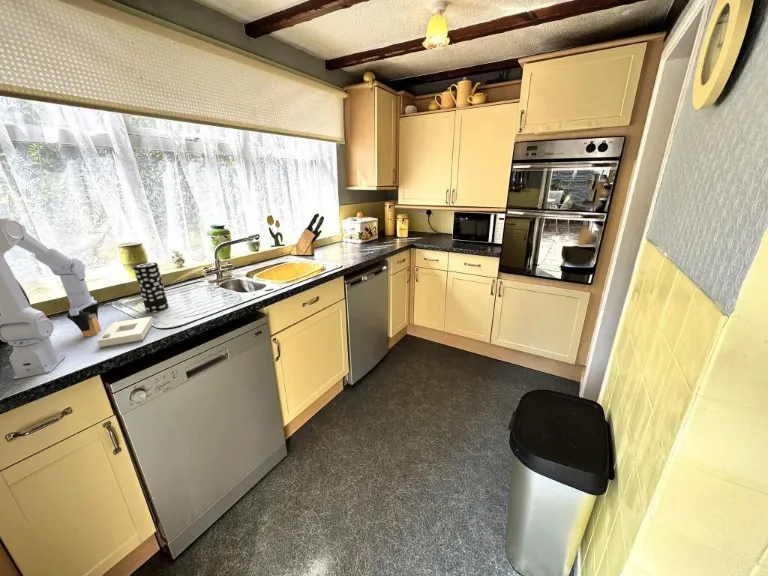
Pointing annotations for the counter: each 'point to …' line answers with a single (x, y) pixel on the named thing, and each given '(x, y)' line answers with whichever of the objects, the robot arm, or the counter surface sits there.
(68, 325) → the counter surface
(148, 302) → the white-spotted black cylinder
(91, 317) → the plug
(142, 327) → the socket
